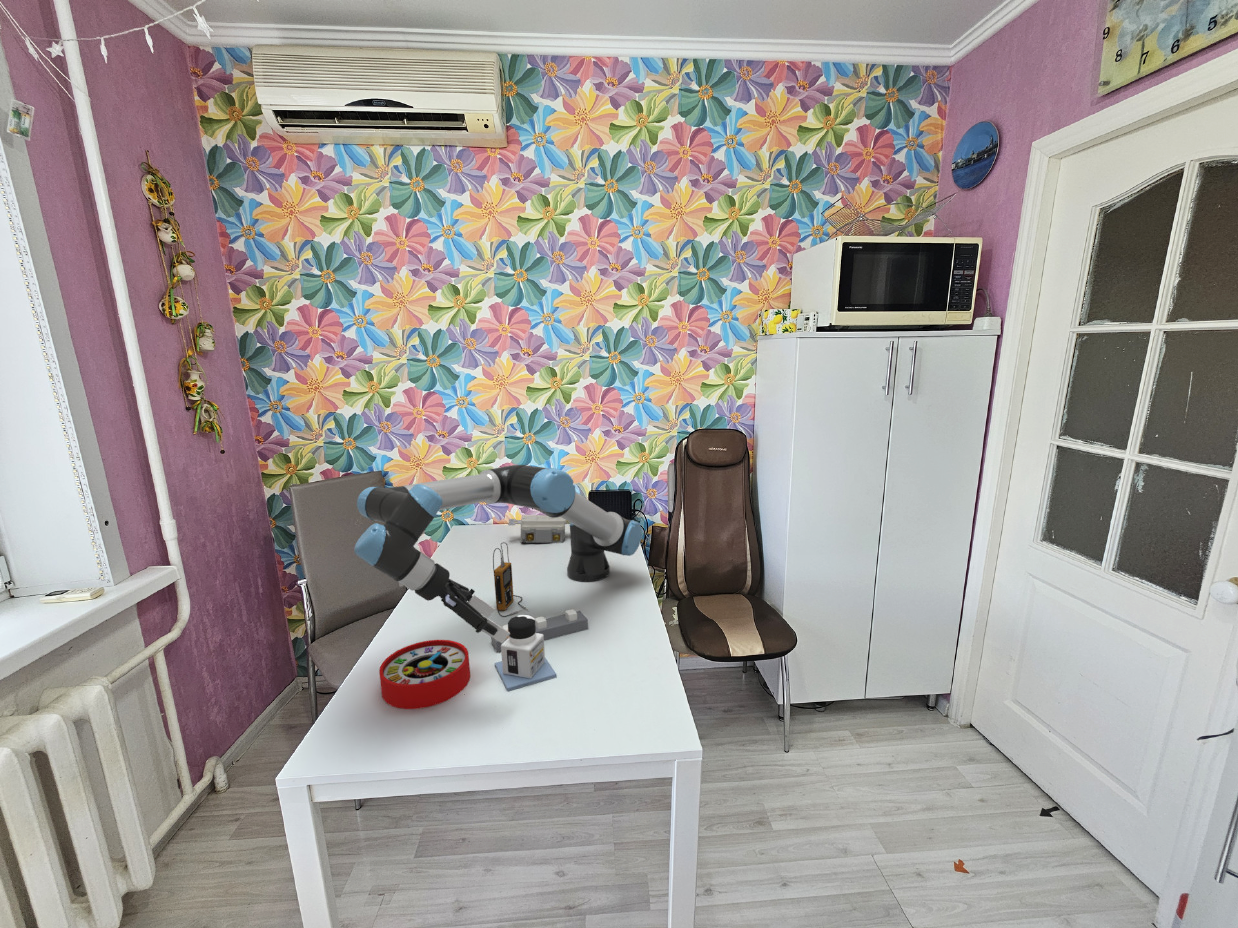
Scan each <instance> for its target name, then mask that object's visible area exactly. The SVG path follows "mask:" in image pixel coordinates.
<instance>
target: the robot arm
mask: <svg viewBox="0 0 1238 928" xmlns="http://www.w3.org/2000/svg"><path fill="white" fill-rule="evenodd" d="M479 503H485V504H488V505H492V504H508V505H515V506H518V507H523V508H529V509H534V510H536V511H539V512H540V513H542V514H543V515H547V516H549V517H551V518H558V517H561V518H563V519H565V520H567V521H568V522H570V524H569V535H570V537H569V538H570V551H571V553H570V556H569V561H568V564H567V566H566V574H567V577H568V578H569V579H571V580H573V581H578V582H585V583H586V582H595V581H600V580H603V579H605V578H607V577H608V576H609V575H610V573H611V571H610V570H611V569H610V564H609V562H608V558H607V556H606V553H605V551H606V552H608V553H609V552H610V553H614V554H618V555H621V556H633V555H634V554H635V553H636V552H637V550H638V549H639V547H640V544H641V540H642V526H641V525H640V523H639V522H638V521H637V520H636V521H635V520H634V519H632V520H631V519H626V518H625V517H623V516H621V515H620V514H618V513H617V512H614V511H608V512H607V511H605V510H604V509H603V508H601V507H599V506H598V505H596V504H595V503H593V502H592V501H590V500H589V499H587V498H585V497H584V496H583V495H581V494H580V493H578V492H577V491H576V485H575V484H574V480H573V478H572V476H571V475H570V474H569V473H567V472H566V471H564V470H562V469H559V468H555V467H542V466H533V465H525V464H512V465H506V466H501V467H496V468H491V469H490V468H489V469H484V470H482V471H481V472H480V473H479V474H475V475H468V476H459V477H453V478H447V479H440V480H433V481H427V482H426V481H425V482H420V483H419V482H418V483H412V484H407V485H406V484H405V485H399V486H391V487H381V486H370V487H367V488H365V489H363V491H361V492H360V494H359V495H358V497H357V500H356V506H357V507H356V508H357V510H358V512H359V514H360V515H361V516H362V517H365V518H367V519H369V520H371V521H374V522H375V521H376V523H373V524H371V525H370V526H369V527H368V528H366V530H365V531H364V532H363V533H362V534H361V536H360V537H359V538H358V540H357V541H356V542H355V545H354V553H355V555H356V556H358V557H359V558H360V559H361V560H363V561H364V562H365V563H367V564H368V565H369V566H372V567H373V568H374V569H376V570H377V571H380V572H381V573H383V574H384V575H386V576H388V577H389V578H391V579H392V580H394V581H396V582H398V586H399V587H400V588H402V587H404V586H405V588H407V589H409V590H410V591H414V593H415V594H416V595H417V596H419V597H421V598H423V600H426V601H433V600H434V599H435V598H437V597H439V598H440V601H441V602H442V604H443V606H444V607H445V608H446V607H447V608H448V609H449V610H451V611H452V612H453V613H455V614H456V615H457V616H458V617H460V618H461V619H462V620H463V621H464V622H466V623H467V624H468V625H470V626H471V627H472V628H473V629H475V633H477V634H479V633H481V632H483V633H484V634H486V635H488V636H490V638H491V637H493V638H494V639H496V640H497V641H499V642H500V643H503V642H504V641H505V639H506V638H507V637H508V636H509V634H510V632H508V631H507V630H505V629H504V628H502V626H501V625H499V624H497V622H495V621H493V620H491V619H490V618H489V617H490V616H491V615H492V613H494V612H495V610H496V609H495V607H493V606H492V605H490V603H488V602H486V601H484V599H481V598H480V597H479V596H477V595H476V594H475V593H476V590H475V589H473V588H470V589H469V588H468V587H466V586H464V585H462V584H461V583H459V582H456V581H454V580H453V579H450V575H451V574H450V571H449V570H448V569H447V568H445V567H443V566H442V565H441V564H439V563H438V562H437V563H435V560H434V559H432V558H431V557H429V556H427V555H426V554H424V552H422V551H419V550H418V549H417V548H415V547H414V546H415V545H416V544H417V543H418V541H419V539H420V537H422V535H423V533H425V530H427V528H428V527H429V525H430V524H431V523H432V522H433V520H434V519H435V518H436V517H437V514H438V512H439V511H442V510H448V509H454V508H458V507H464V506H468V505H474V504H475V505H476V504H479ZM377 522H380V523H383V524H380V523H377Z"/></svg>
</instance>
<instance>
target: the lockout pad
mask: <svg viewBox="0 0 1238 928" xmlns="http://www.w3.org/2000/svg"><path fill="white" fill-rule="evenodd" d="M494 667H495V669H496V672H497V673H498V676H499V677H500V680H501V682H502V684H503V686H504V687H505V690H506V691H507V692H510V691H513V690H517V689H521V688H523V687H527V686H530V685H534V684H537V683H542V682H545V681H548V680H551V679H555V678H557V676H558V675H557V673H556V671H555V669H554V668H553V667H552V665H551V664H550V662H549V661H548V660H547V658H546V657H545V662H544V664H543V665H542V666H541V667H540V668H539V670H538V671H537V672H536V673H535V674H534V675H533V677H532V678H525V677H519V676H514V675H508V674H504V673H503V667H502V660H501V661H498V662H494Z"/></svg>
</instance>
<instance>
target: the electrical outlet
mask: <svg viewBox="0 0 1238 928" xmlns="http://www.w3.org/2000/svg"><path fill="white" fill-rule="evenodd" d="M507 525H508V526H516V525H520V543H521V542H526V543H525V544H530V543H531V544H532V543H536V544H537V543H542V544H543V543H564V542H565V541H566V539H565V538H566V537H565V536H566V525H570V522H568V521H567V520H565V519H563V518H561V517H558V518H551V517H549V516H547V515H545V514H543V515H540V514H539V515H538V514H537V515H536V514H535V515H534V514H533V515H532V514H529V515H528V514H527V515H526V514H524V515H523V514H522V515H521V519H516V518H509V519H508V522H507Z"/></svg>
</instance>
